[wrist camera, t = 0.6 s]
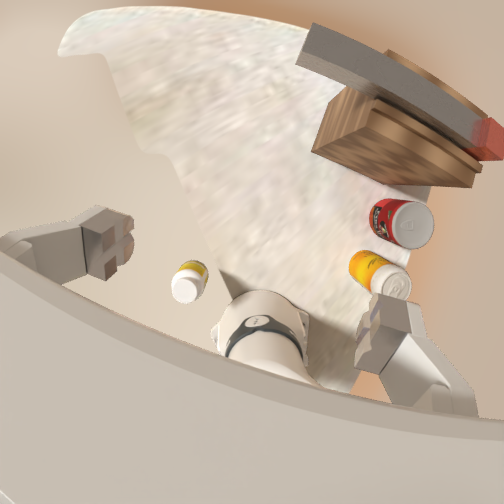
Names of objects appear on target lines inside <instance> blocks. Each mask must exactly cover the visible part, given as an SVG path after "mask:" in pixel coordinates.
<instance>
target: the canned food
mask: <svg viewBox="0 0 504 504" xmlns="http://www.w3.org/2000/svg"><path fill="white" fill-rule="evenodd" d="M369 222H370V226H371V228H372V230H373V232H374V233H375V234H376V235H377V236H379V237H381V238H383V239H385V240H387V241H390V242H392V243H394V244H397V245H399V246H401V247H404V248H407V249H418V248H420V247H422V246H424V245H425V244H426V243H427V242H428V241H429V240H430V238H431V236H432V234H433V230H434V219H433V215H432V213H431V211H430V210H429V209H428V208H427V207H426V206H425V205H424V204H421V203H419V202H414V201H407V200H398V199H383V200H381V201H379V202H378V203H376V204H375V205H374V206H373V208H372V210H371V212H370V216H369Z"/></svg>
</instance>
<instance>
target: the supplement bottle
mask: <svg viewBox="0 0 504 504" xmlns="http://www.w3.org/2000/svg"><path fill="white" fill-rule="evenodd" d="M207 280H208V270H207V268H206V266H205V265H204V264H203V263H201V262H199V261H196V260H190V261H187V262H185V263H184V264H183V265H182V266H181V267H180V269H179V270H178V271H177V273H176V274H175V275H174V277H173V280H172V294H173V296H174V298H175V299H176V300H177V301H178V302H180V303H184V304H186V303H191V302H192V301H194V300H196V299H198V298H199V297H200V296H201V295H202V293H203V291H204V288H205V286H206V283H207Z"/></svg>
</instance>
